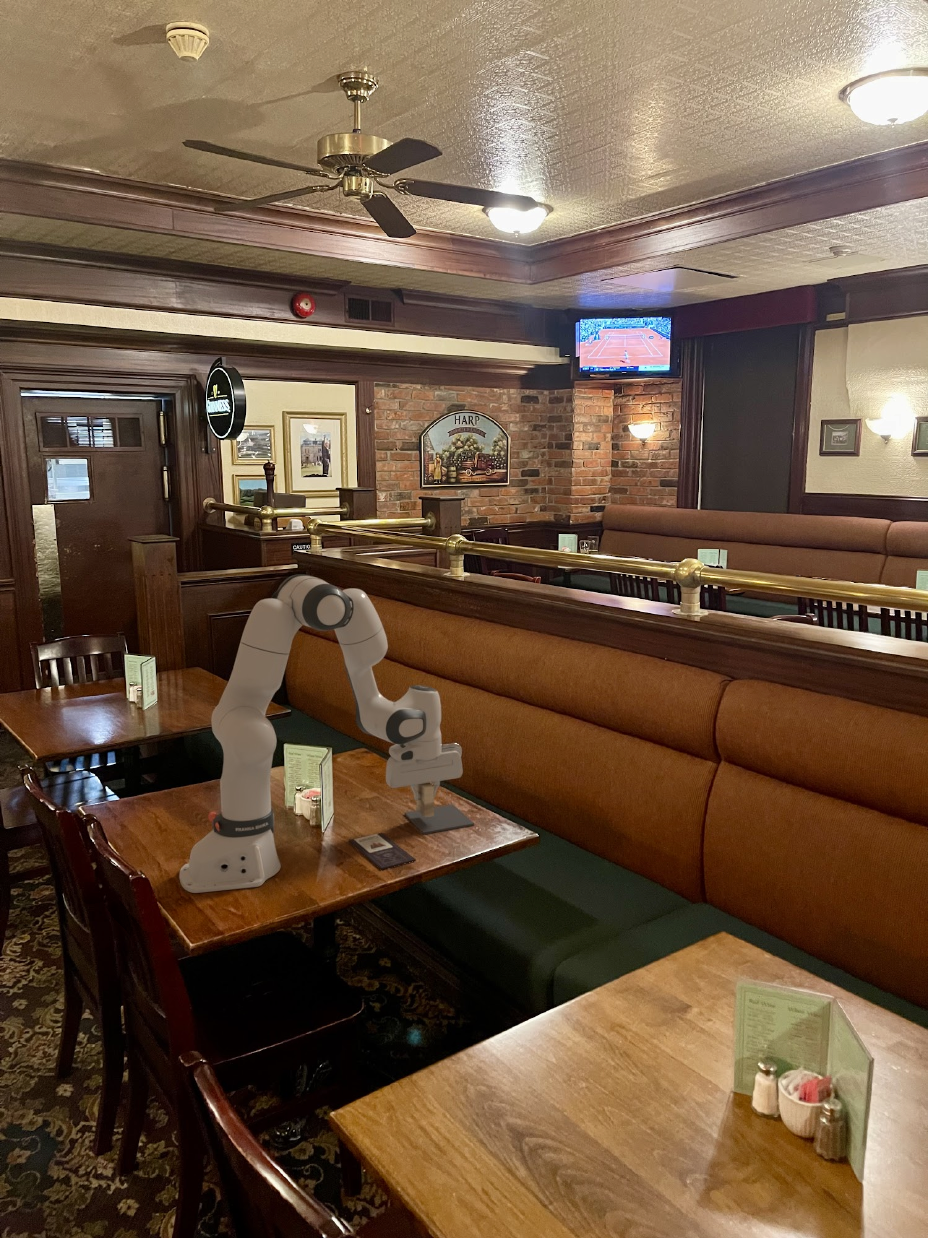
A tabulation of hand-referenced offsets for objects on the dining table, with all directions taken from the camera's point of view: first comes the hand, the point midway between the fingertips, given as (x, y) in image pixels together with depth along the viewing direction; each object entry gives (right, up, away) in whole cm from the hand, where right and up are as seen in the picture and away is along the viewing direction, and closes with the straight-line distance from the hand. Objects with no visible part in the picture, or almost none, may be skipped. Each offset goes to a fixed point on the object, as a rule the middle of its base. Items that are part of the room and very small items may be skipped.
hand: (425, 798), depth 237 cm
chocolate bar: (-10, -10, -16) cm, 21 cm away
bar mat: (+3, -6, +3) cm, 8 cm away
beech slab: (0, -4, +1) cm, 4 cm away
